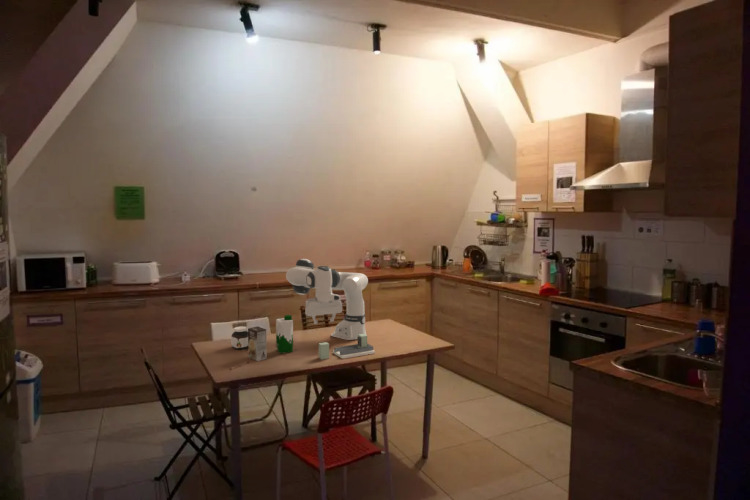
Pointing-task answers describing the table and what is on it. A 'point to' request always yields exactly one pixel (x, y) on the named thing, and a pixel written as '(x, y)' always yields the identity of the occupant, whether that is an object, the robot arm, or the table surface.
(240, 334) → the spread jar
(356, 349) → the board
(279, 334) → the milk carton
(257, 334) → the coffee box
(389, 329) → the table surface
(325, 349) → the block
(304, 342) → the table surface
